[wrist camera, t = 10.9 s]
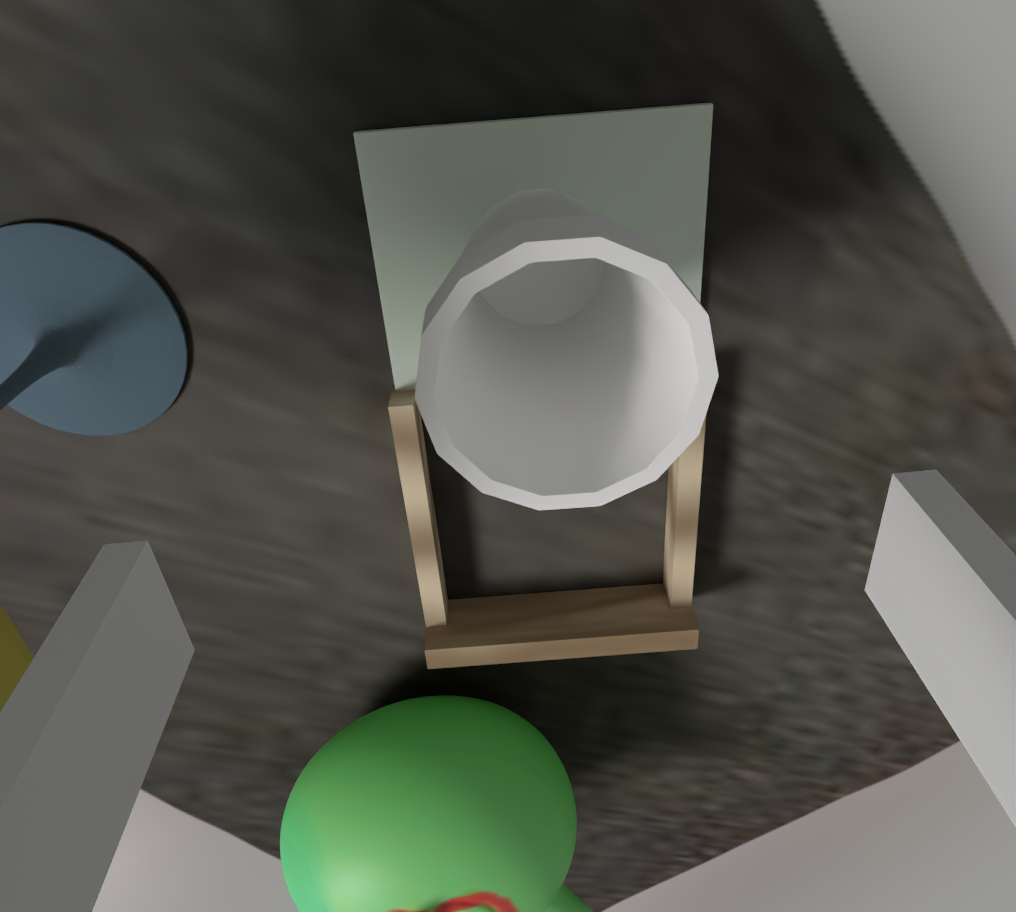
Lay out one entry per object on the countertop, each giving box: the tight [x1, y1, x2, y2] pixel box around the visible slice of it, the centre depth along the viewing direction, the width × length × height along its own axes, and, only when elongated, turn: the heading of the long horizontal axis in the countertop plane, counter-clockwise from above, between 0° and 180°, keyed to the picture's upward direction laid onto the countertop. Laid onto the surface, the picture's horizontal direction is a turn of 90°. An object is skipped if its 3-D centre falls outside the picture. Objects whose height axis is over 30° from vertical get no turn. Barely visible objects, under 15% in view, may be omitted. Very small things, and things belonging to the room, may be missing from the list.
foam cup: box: [414, 188, 719, 510], centre depth 29 cm, size 10×9×13 cm
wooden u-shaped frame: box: [388, 386, 706, 669], centre depth 41 cm, size 16×15×4 cm
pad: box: [353, 103, 713, 391], centre depth 35 cm, size 12×15×1 cm
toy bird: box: [280, 695, 596, 912], centre depth 47 cm, size 18×17×15 cm
